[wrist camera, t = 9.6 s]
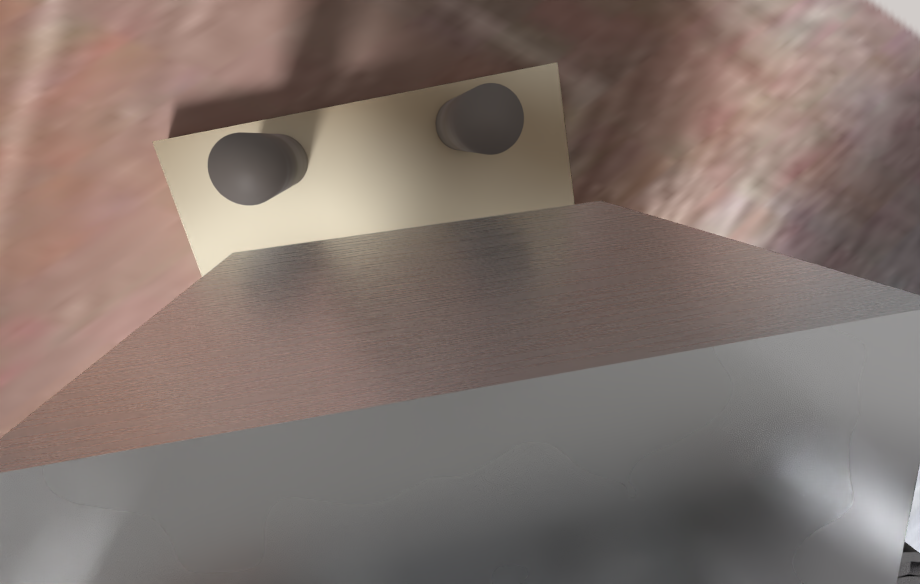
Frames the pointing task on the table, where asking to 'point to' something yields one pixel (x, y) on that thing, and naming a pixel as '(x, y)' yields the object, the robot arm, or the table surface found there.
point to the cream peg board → (373, 165)
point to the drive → (485, 418)
